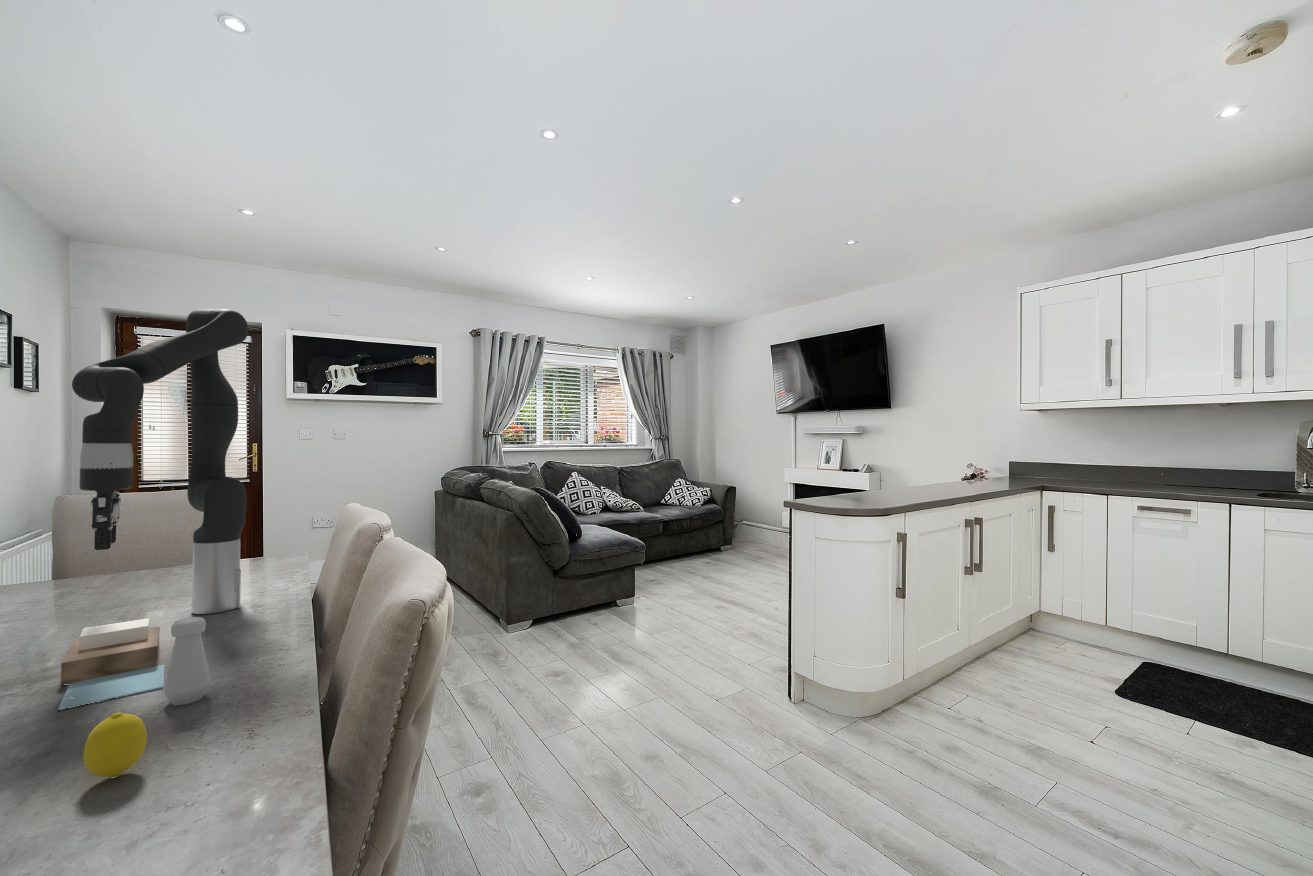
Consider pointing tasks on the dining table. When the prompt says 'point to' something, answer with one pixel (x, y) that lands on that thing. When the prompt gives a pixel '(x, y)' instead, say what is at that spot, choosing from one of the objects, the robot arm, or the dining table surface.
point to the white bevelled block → (114, 634)
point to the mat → (113, 686)
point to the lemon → (115, 745)
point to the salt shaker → (187, 663)
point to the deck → (109, 659)
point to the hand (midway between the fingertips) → (105, 546)
